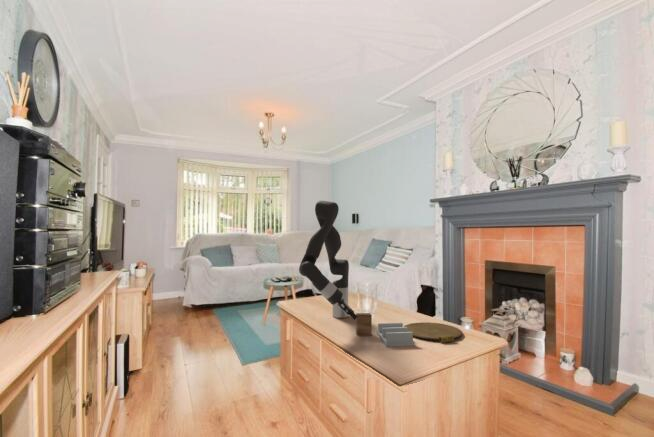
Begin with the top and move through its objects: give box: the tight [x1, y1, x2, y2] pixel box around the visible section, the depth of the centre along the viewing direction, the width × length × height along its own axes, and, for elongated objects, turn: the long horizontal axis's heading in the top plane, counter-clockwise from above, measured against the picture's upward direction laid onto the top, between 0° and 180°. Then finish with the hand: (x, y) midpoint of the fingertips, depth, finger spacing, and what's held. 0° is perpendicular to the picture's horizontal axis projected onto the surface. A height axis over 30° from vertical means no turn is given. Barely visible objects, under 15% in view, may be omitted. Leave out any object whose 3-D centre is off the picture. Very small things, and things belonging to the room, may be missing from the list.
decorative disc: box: [403, 322, 464, 344], centre depth 156 cm, size 29×3×30 cm
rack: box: [376, 322, 416, 348], centre depth 146 cm, size 16×13×6 cm
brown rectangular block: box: [355, 312, 373, 337], centre depth 153 cm, size 4×7×10 cm, turn 96°
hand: (354, 315), depth 153 cm, fingers open, 8 cm apart
